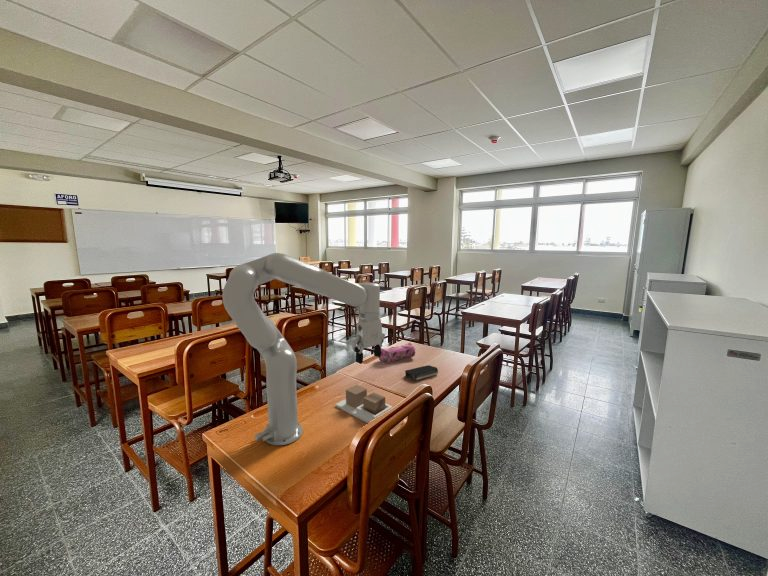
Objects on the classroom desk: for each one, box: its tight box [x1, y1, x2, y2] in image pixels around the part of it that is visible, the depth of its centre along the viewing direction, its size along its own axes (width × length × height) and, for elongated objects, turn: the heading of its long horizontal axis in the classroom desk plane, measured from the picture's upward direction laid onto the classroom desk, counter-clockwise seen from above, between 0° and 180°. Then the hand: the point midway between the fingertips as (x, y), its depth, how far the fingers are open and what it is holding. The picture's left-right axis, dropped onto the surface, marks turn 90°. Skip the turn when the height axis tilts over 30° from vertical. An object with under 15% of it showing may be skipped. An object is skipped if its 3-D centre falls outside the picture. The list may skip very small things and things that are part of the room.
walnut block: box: [363, 392, 386, 415], centre depth 118 cm, size 6×6×6 cm
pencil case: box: [378, 342, 416, 365], centre depth 175 cm, size 21×9×9 cm, turn 121°
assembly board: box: [335, 384, 394, 424], centre depth 122 cm, size 12×22×7 cm, turn 49°
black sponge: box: [404, 364, 439, 381], centre depth 155 cm, size 16×8×4 cm, turn 121°
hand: (368, 359), depth 117 cm, fingers open, 9 cm apart
